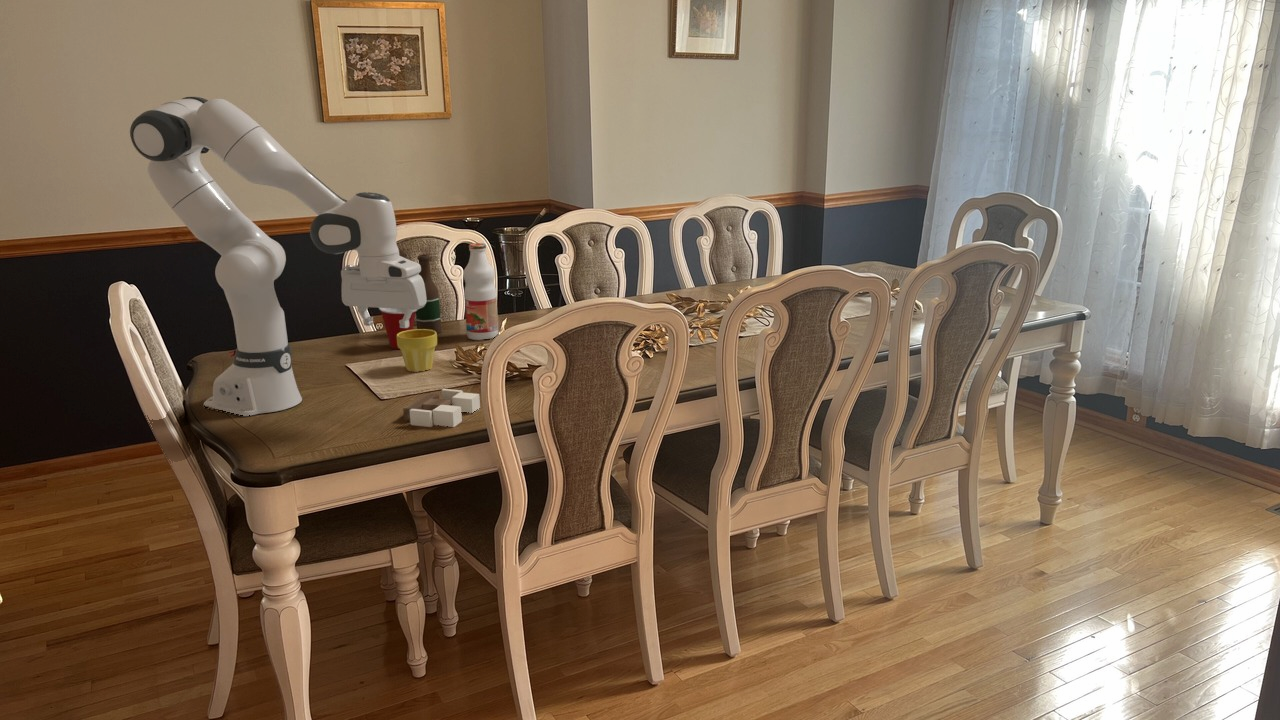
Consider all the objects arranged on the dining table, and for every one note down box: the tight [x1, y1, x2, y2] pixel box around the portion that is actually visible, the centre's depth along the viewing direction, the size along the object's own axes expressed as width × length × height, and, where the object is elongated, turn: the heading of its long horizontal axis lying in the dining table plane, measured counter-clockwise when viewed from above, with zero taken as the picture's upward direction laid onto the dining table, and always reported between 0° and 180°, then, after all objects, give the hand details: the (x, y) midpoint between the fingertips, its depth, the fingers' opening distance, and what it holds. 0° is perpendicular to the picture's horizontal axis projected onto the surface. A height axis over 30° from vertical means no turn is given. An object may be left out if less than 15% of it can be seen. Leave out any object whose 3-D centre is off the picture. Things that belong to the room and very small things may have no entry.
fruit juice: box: [463, 242, 499, 341], centre depth 275 cm, size 9×9×28 cm
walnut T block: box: [402, 392, 452, 422], centre depth 214 cm, size 8×11×3 cm
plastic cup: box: [378, 308, 417, 350], centre depth 268 cm, size 11×11×12 cm
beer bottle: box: [415, 254, 442, 335], centre depth 281 cm, size 8×8×24 cm
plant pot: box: [397, 328, 438, 373], centre depth 247 cm, size 10×10×10 cm
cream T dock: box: [409, 388, 481, 428], centre depth 213 cm, size 10×16×4 cm, turn 163°
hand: (386, 326), depth 211 cm, fingers open, 8 cm apart
